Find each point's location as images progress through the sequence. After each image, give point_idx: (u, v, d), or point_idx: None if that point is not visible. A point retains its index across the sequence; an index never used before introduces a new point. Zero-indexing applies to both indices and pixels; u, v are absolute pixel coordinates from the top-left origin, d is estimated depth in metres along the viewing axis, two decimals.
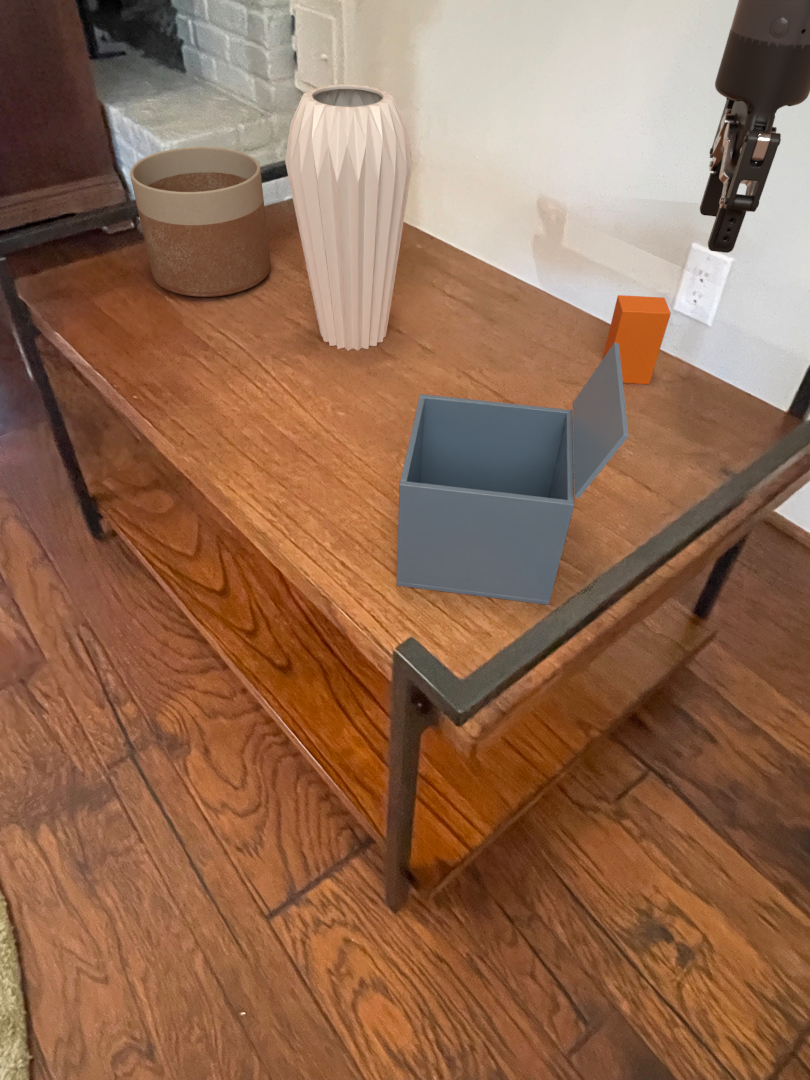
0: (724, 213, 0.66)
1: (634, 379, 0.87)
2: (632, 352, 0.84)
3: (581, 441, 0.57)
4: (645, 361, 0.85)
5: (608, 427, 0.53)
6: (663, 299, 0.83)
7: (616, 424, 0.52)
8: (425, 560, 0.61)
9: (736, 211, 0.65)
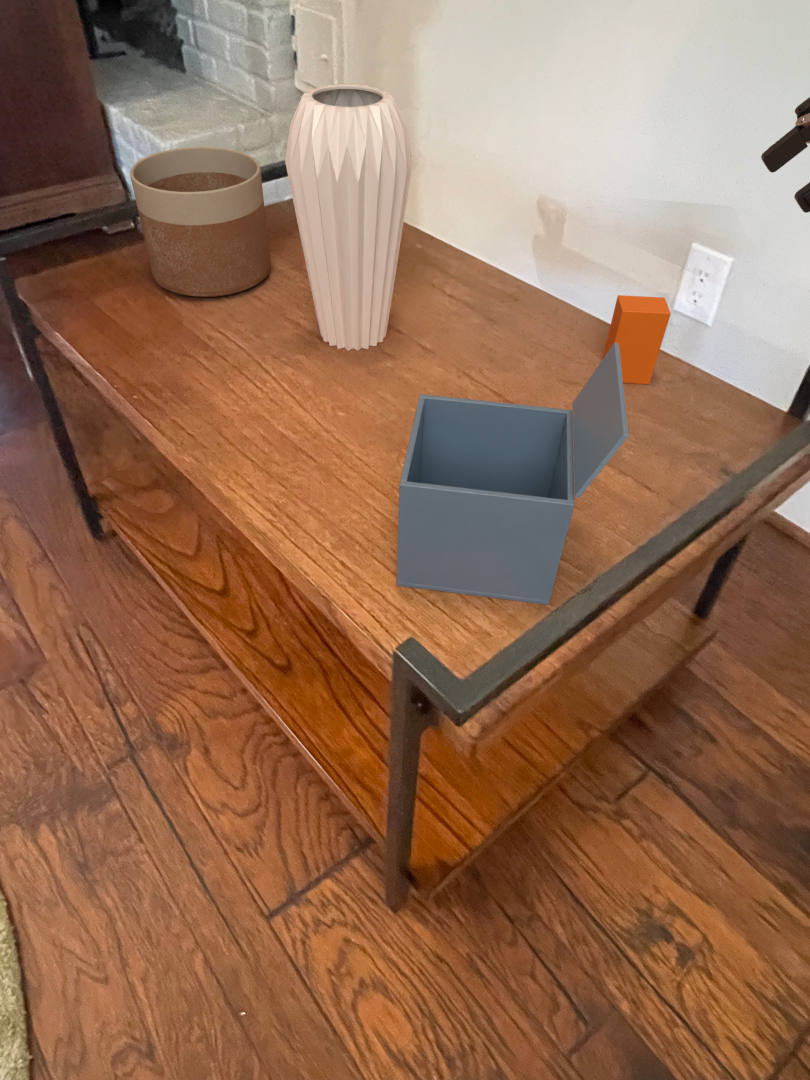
0: None
1: (634, 379, 0.87)
2: (632, 352, 0.84)
3: (581, 441, 0.57)
4: (645, 361, 0.85)
5: (608, 427, 0.53)
6: (663, 299, 0.83)
7: (616, 424, 0.52)
8: (425, 560, 0.61)
9: None
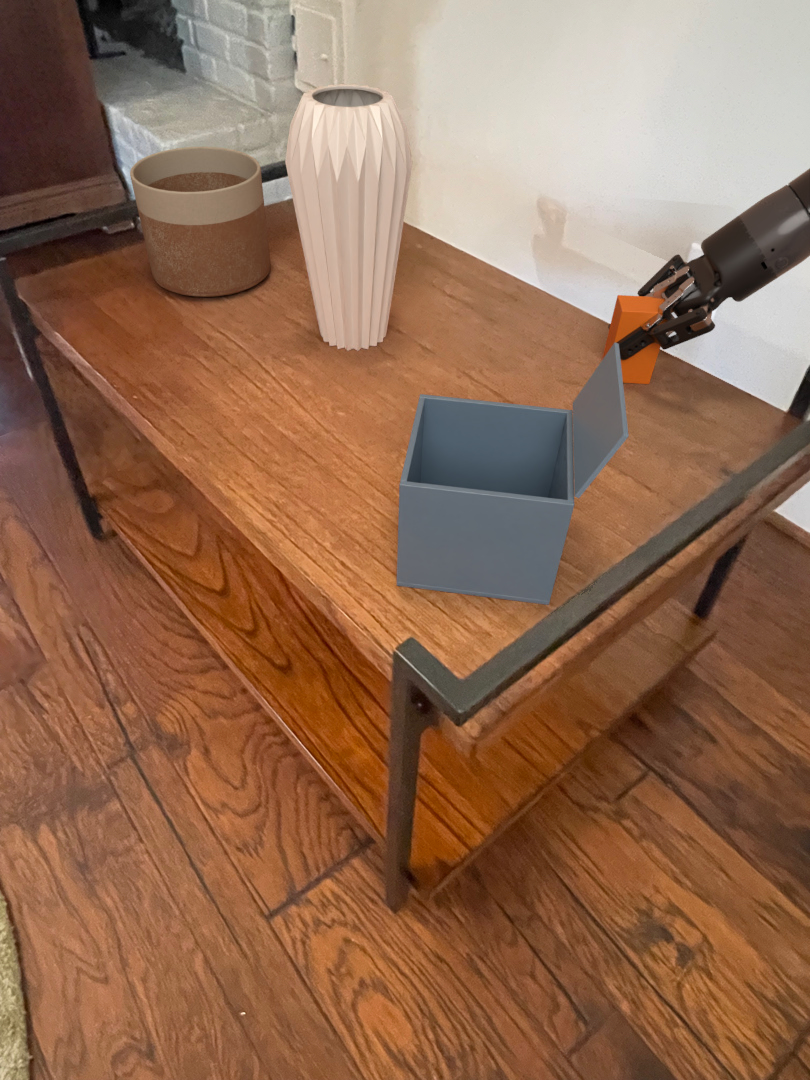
0: None
1: (634, 379, 0.87)
2: None
3: (581, 441, 0.57)
4: (645, 361, 0.85)
5: (608, 427, 0.53)
6: (663, 299, 0.83)
7: (616, 424, 0.52)
8: (425, 560, 0.61)
9: None
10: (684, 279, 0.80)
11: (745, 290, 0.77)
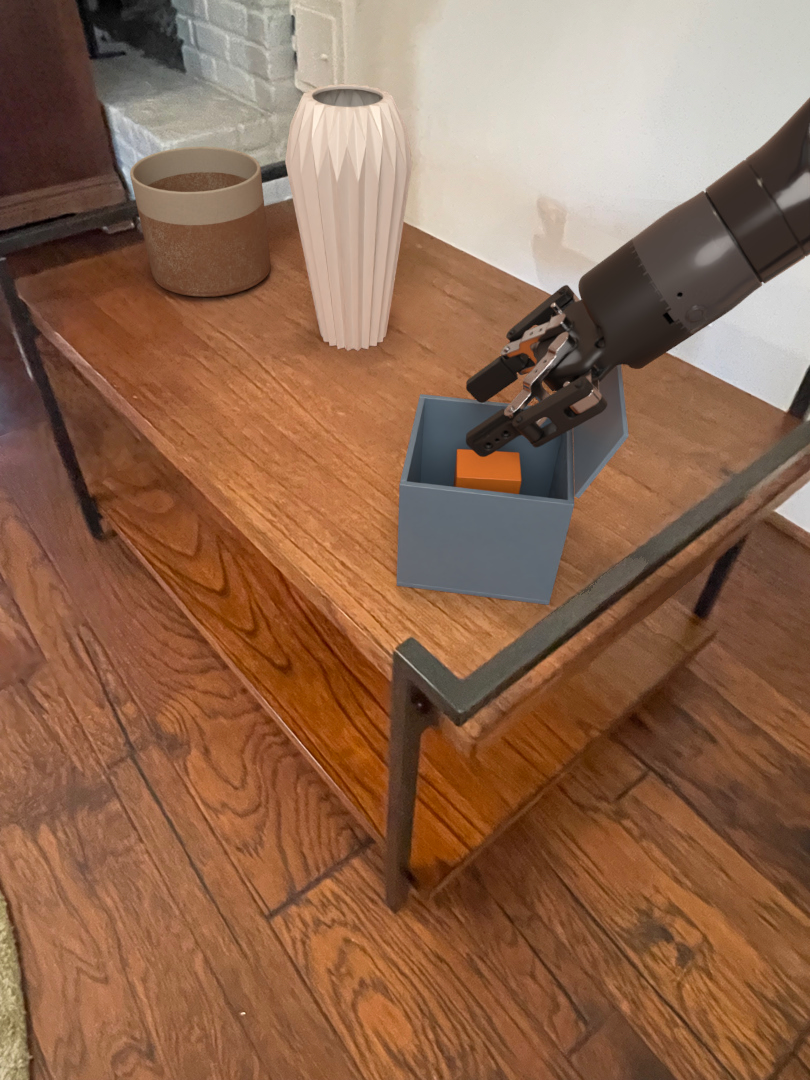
0: None
1: None
2: None
3: (581, 441, 0.57)
4: None
5: (608, 427, 0.53)
6: (516, 455, 0.62)
7: (616, 424, 0.52)
8: (425, 560, 0.61)
9: None
10: (559, 333, 0.53)
11: (643, 354, 0.49)
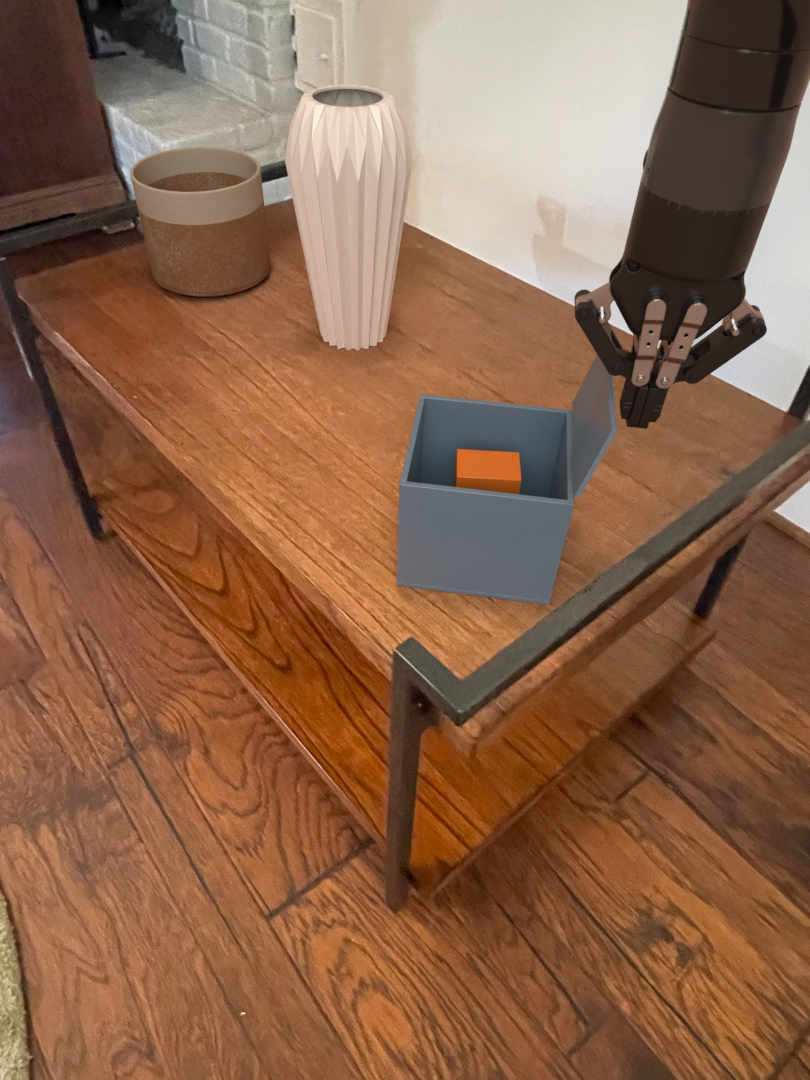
0: None
1: None
2: None
3: (579, 441, 0.57)
4: None
5: (599, 424, 0.53)
6: (516, 455, 0.62)
7: (606, 421, 0.52)
8: (425, 560, 0.61)
9: None
10: None
11: None
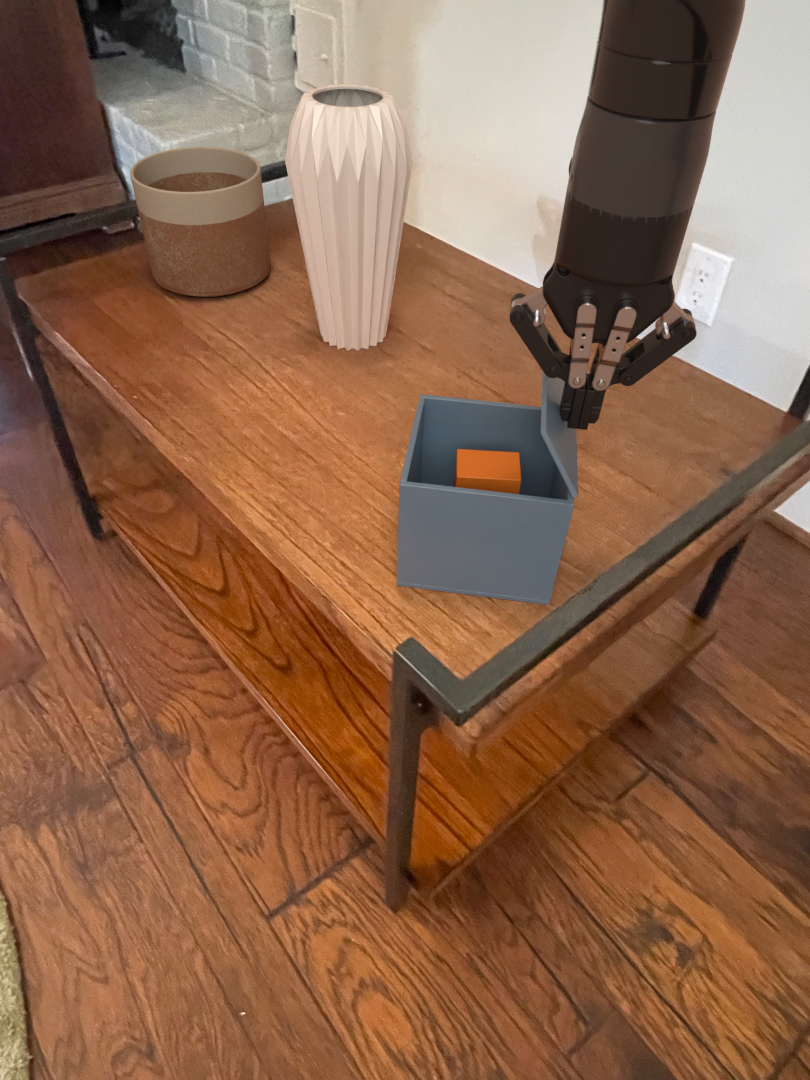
0: None
1: None
2: None
3: None
4: None
5: None
6: (516, 455, 0.62)
7: None
8: (425, 560, 0.61)
9: None
10: None
11: None
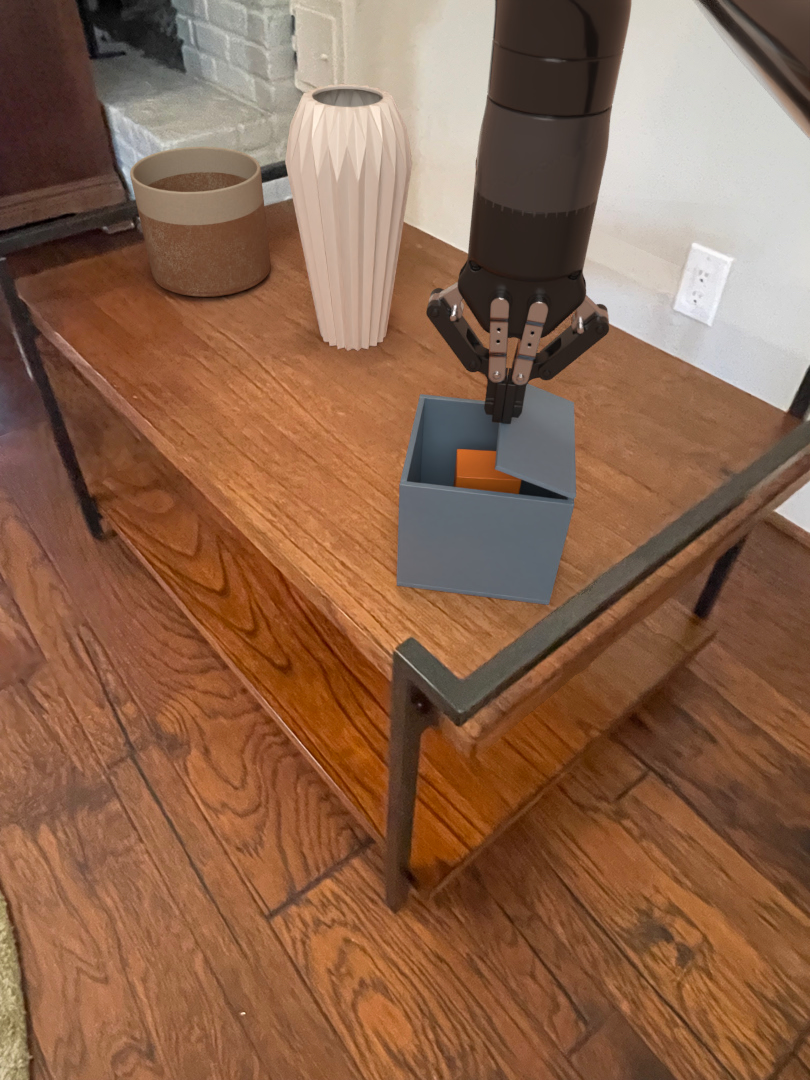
0: None
1: None
2: None
3: None
4: None
5: None
6: None
7: None
8: (425, 560, 0.61)
9: None
10: None
11: None
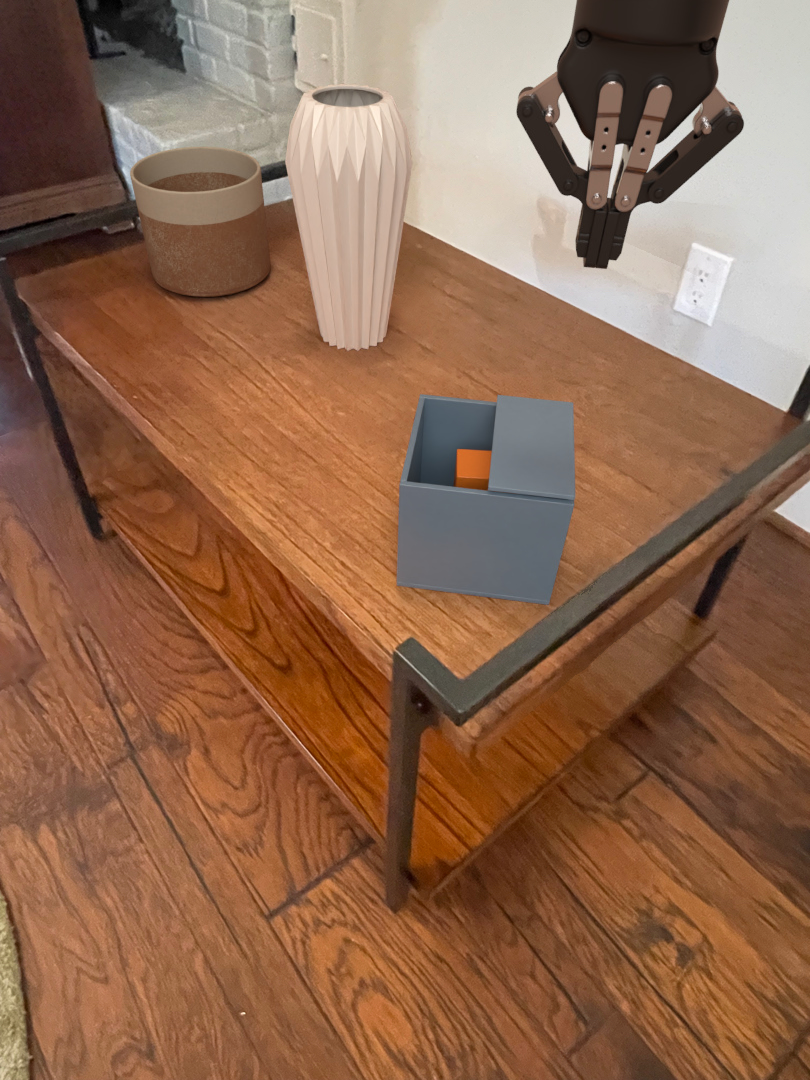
0: None
1: None
2: None
3: None
4: None
5: None
6: None
7: None
8: (425, 560, 0.61)
9: None
10: None
11: None
